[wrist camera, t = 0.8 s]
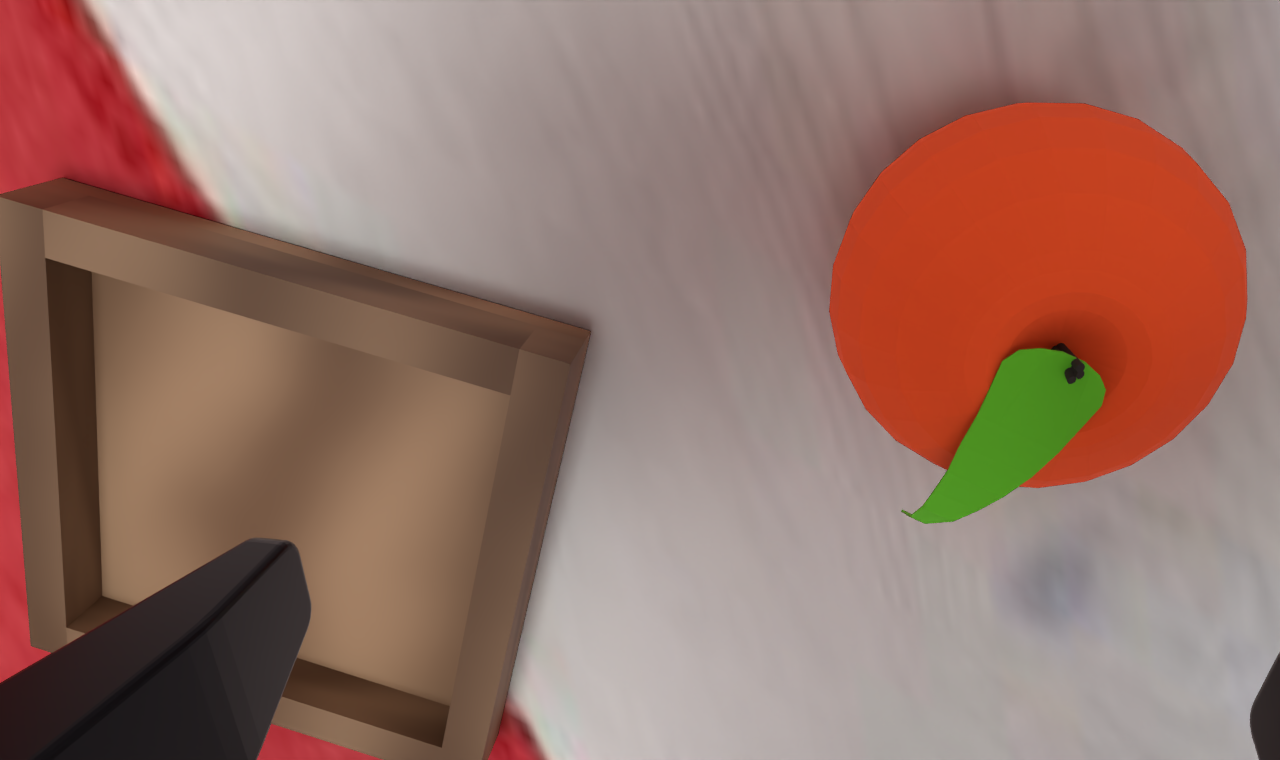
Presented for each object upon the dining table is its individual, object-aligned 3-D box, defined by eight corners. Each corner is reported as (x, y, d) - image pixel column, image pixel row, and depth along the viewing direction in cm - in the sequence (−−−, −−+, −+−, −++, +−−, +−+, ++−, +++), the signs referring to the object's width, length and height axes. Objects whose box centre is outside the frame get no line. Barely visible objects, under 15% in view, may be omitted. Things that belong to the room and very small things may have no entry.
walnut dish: (590, 331, 22) (570, 364, 20) (497, 734, 28) (475, 789, 26) (62, 177, 23) (-6, 195, 21) (82, 602, 29) (31, 645, 27)
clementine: (1017, 473, 22) (1105, 680, 15) (754, 354, 22) (731, 512, 15) (1237, 165, 18) (1468, 267, 12) (925, 24, 18) (988, 47, 12)
